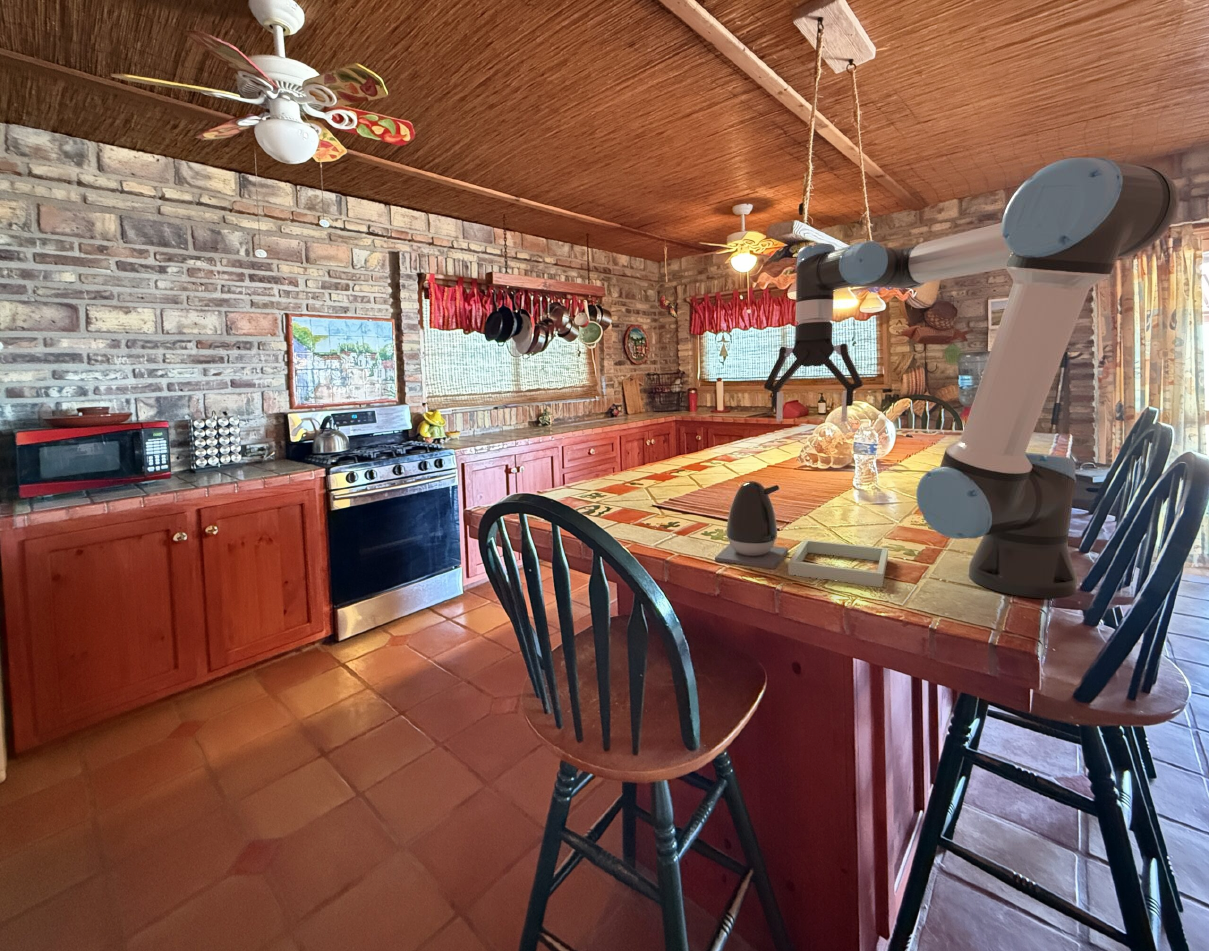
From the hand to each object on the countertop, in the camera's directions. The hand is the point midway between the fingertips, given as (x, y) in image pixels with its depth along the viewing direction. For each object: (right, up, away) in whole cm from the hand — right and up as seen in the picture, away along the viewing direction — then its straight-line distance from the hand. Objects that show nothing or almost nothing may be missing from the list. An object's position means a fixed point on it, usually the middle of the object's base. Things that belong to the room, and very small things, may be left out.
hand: (810, 421), depth 124 cm
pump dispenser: (-15, -28, -7) cm, 33 cm away
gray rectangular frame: (0, -30, -15) cm, 33 cm away
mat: (-15, -29, -7) cm, 33 cm away
